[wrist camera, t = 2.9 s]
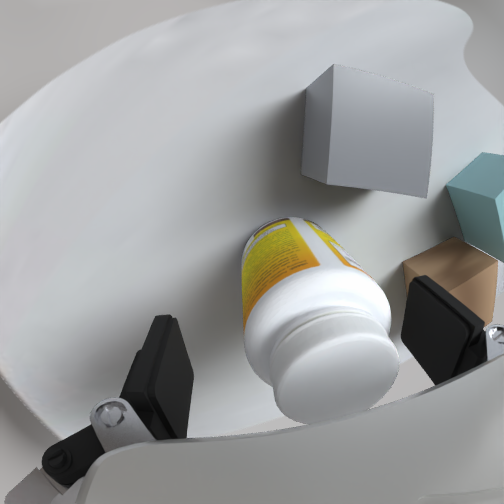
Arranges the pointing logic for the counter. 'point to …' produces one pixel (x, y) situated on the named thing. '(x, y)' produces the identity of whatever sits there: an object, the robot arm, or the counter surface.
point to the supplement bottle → (314, 323)
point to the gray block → (368, 132)
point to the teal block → (481, 203)
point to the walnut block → (459, 274)
